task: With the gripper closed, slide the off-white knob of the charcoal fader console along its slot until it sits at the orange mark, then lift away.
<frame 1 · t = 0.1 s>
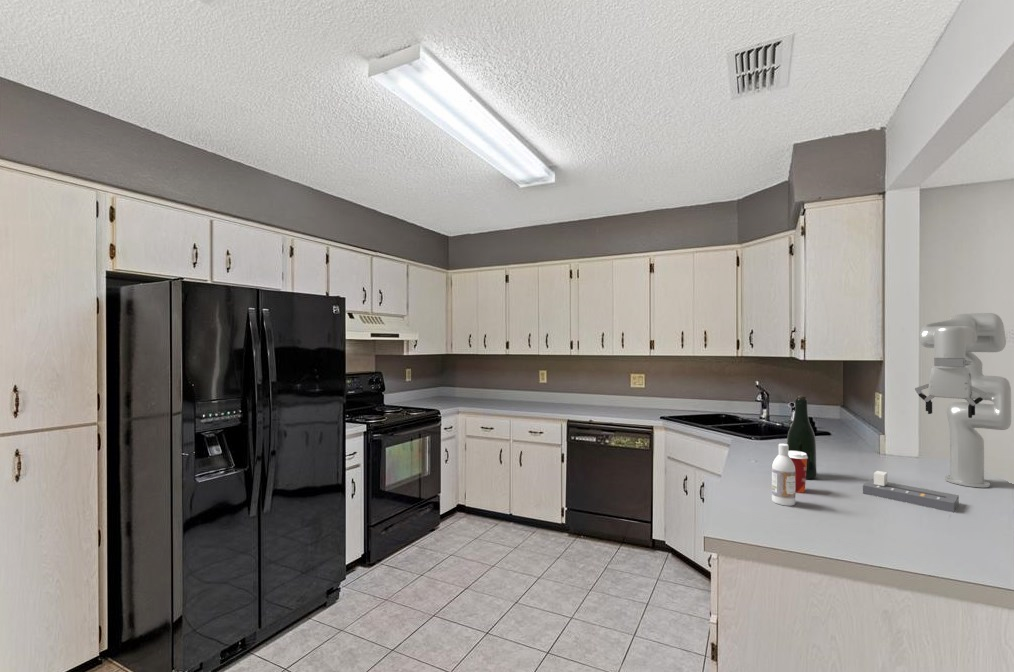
hand: (949, 415, 153), 31 cm above the countertop, tool pointing down, fingers open, 9 cm apart
bath foam: (783, 503, 159), on the countertop
fader console: (909, 498, 163), on the countertop
paper cup: (795, 490, 172), on the countertop
fader knob: (880, 478, 169), point 5 cm above the countertop, slide at 0.0 cm
green wine bottle: (801, 476, 190), on the countertop
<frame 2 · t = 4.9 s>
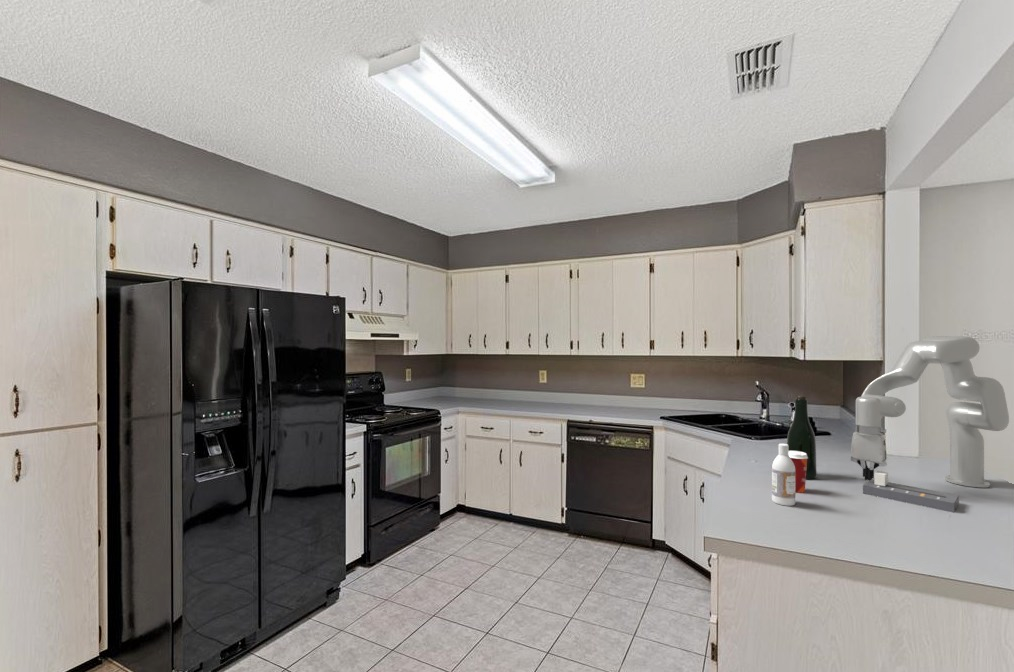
hand: (868, 479, 172), 4 cm above the countertop, tool pointing down, fingers closed
fader knob: (881, 478, 169), point 5 cm above the countertop, slide at 0.2 cm, touching gripper
everything else where it was.
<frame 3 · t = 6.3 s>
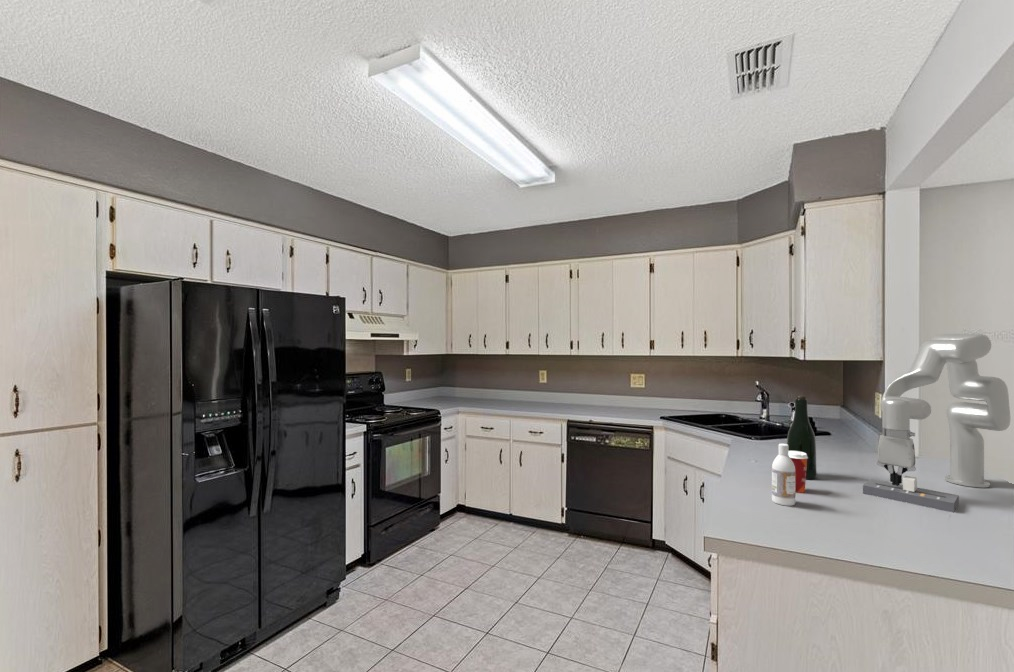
hand: (895, 484, 166), 4 cm above the countertop, tool pointing down, fingers closed
fader knob: (909, 483, 163), point 5 cm above the countertop, slide at 8.2 cm, touching gripper
everything else where it was.
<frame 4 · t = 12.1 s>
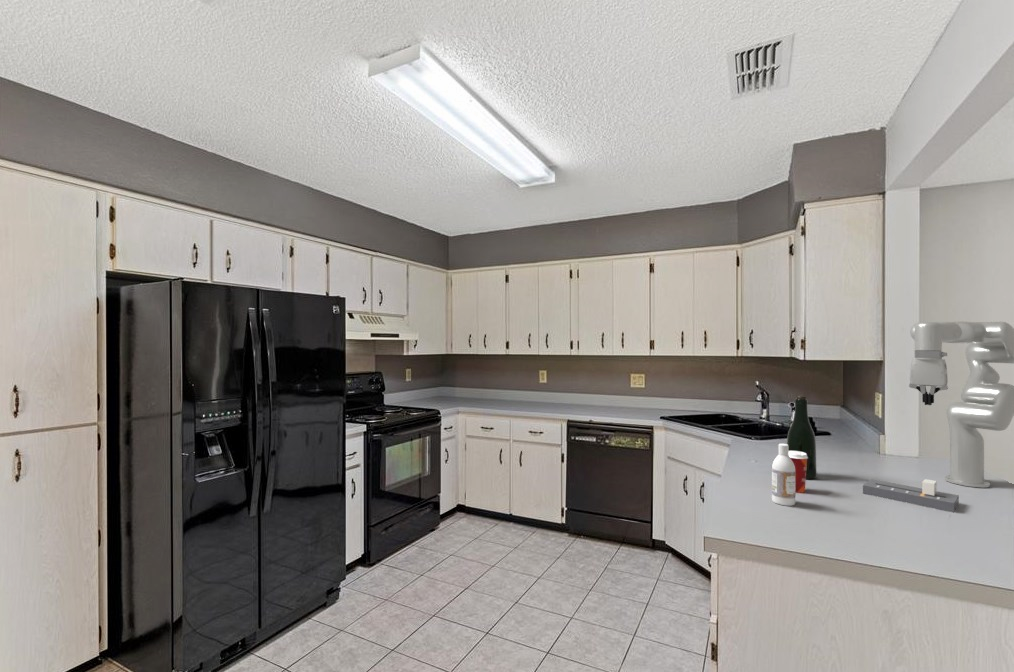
hand: (928, 404, 171), 32 cm above the countertop, tool pointing down, fingers closed
fader knob: (929, 487, 159), point 5 cm above the countertop, slide at 13.3 cm
everything else where it was.
at the end: fader knob slide at 13.3 cm; the gripper is holding nothing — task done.
